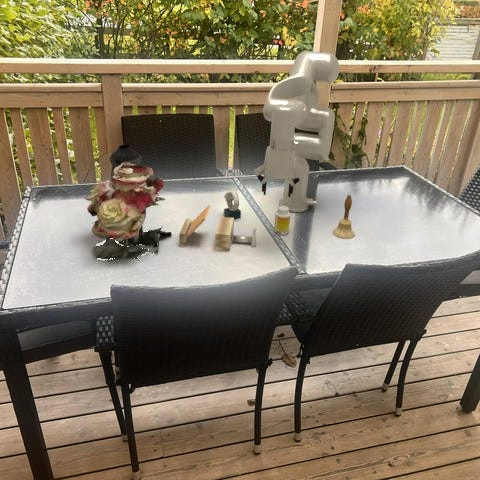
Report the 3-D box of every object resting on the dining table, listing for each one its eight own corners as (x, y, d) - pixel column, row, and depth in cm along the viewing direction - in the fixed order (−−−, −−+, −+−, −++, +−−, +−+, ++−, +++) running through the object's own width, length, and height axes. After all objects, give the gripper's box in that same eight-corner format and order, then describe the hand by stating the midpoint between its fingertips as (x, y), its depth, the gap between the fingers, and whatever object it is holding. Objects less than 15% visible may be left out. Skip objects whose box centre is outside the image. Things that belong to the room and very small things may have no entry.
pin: (255, 240, 166) (256, 229, 164) (254, 246, 163) (255, 234, 160) (233, 239, 167) (233, 227, 165) (232, 244, 163) (232, 233, 161)
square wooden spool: (233, 233, 171) (233, 217, 168) (229, 251, 159) (229, 234, 156) (186, 229, 172) (186, 214, 169) (179, 247, 160) (178, 230, 157)
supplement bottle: (291, 234, 173) (293, 209, 168) (278, 236, 170) (280, 212, 165) (283, 227, 177) (286, 203, 172) (271, 230, 175) (273, 206, 170)
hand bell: (341, 240, 170) (348, 201, 162) (328, 231, 176) (334, 193, 169) (358, 236, 173) (366, 198, 166) (345, 227, 180) (351, 190, 172)
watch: (234, 211, 188) (235, 187, 183) (242, 220, 181) (243, 194, 176) (221, 213, 186) (222, 188, 180) (229, 222, 179) (230, 196, 174)
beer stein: (146, 194, 199) (143, 138, 187) (153, 213, 183) (150, 153, 171) (107, 198, 194) (102, 140, 182) (111, 217, 178) (105, 156, 166)
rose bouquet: (97, 227, 171) (88, 149, 156) (175, 231, 171) (172, 154, 156) (74, 262, 148) (60, 176, 134) (163, 267, 148) (159, 181, 134)
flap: (210, 206, 165) (208, 204, 165) (205, 220, 155) (203, 218, 155) (193, 223, 169) (191, 221, 169) (187, 238, 159) (185, 236, 159)
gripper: (308, 142, 149) (302, 192, 157) (255, 139, 150) (252, 188, 158) (308, 149, 142) (302, 201, 151) (253, 145, 143) (250, 197, 152)
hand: (276, 194), depth 155 cm, fingers open, 7 cm apart
